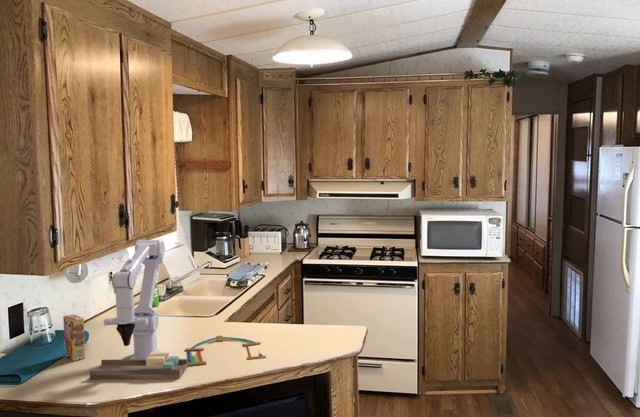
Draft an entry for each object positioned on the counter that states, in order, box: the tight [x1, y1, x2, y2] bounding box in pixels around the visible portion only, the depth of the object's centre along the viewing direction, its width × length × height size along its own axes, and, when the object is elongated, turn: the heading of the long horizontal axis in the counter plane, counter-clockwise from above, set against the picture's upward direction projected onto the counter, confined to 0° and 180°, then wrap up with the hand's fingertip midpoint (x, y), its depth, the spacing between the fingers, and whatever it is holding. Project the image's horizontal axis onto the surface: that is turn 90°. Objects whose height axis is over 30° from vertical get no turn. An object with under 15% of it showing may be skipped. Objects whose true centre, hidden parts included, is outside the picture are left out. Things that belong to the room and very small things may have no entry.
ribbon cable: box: [184, 335, 267, 368], centre depth 207 cm, size 29×1×30 cm
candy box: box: [62, 313, 86, 362], centre depth 200 cm, size 9×4×15 cm, turn 47°
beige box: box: [146, 351, 170, 369], centre depth 184 cm, size 6×6×4 cm
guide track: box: [89, 355, 188, 380], centre depth 184 cm, size 10×30×4 cm, turn 89°
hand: (127, 345), depth 185 cm, fingers closed
